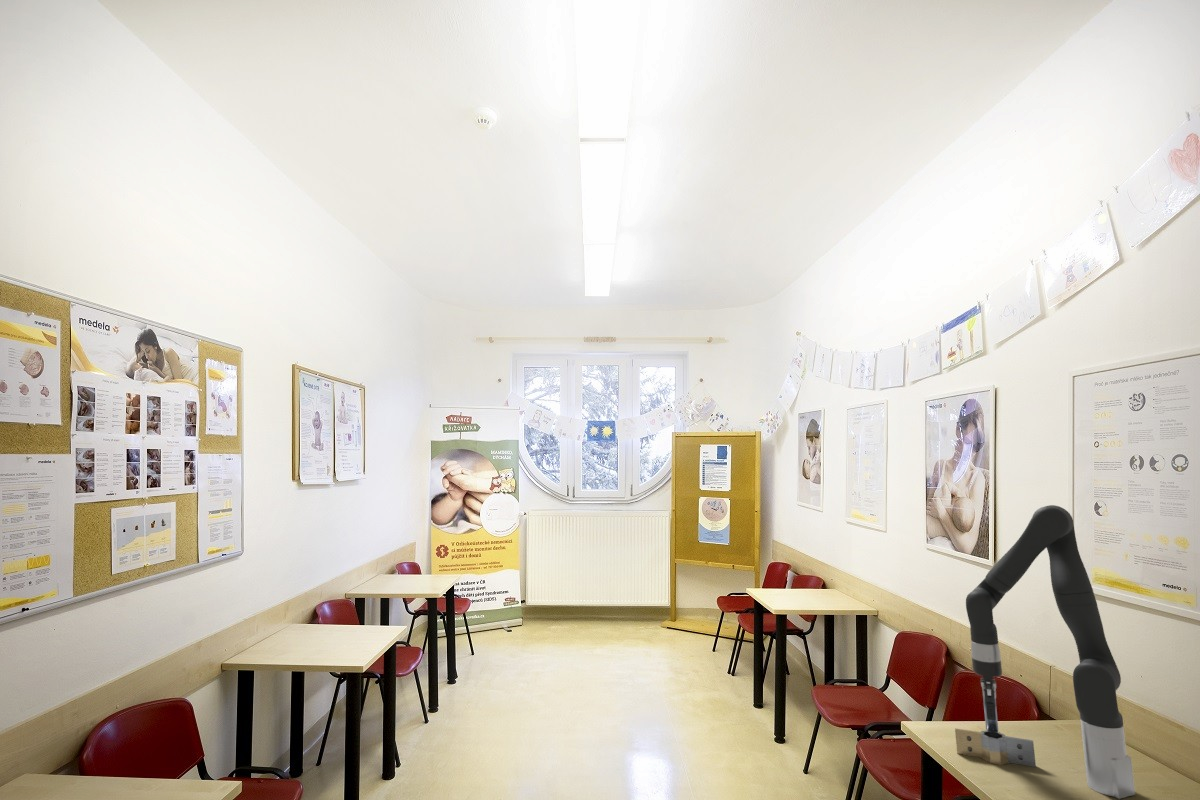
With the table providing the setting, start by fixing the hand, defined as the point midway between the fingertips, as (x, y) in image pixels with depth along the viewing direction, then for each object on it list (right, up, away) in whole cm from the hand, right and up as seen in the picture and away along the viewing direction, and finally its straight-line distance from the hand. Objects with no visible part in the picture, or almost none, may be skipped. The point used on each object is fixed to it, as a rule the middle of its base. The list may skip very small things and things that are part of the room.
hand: (991, 716), depth 189 cm
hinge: (0, -12, -1) cm, 12 cm away
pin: (0, -4, 0) cm, 4 cm away
